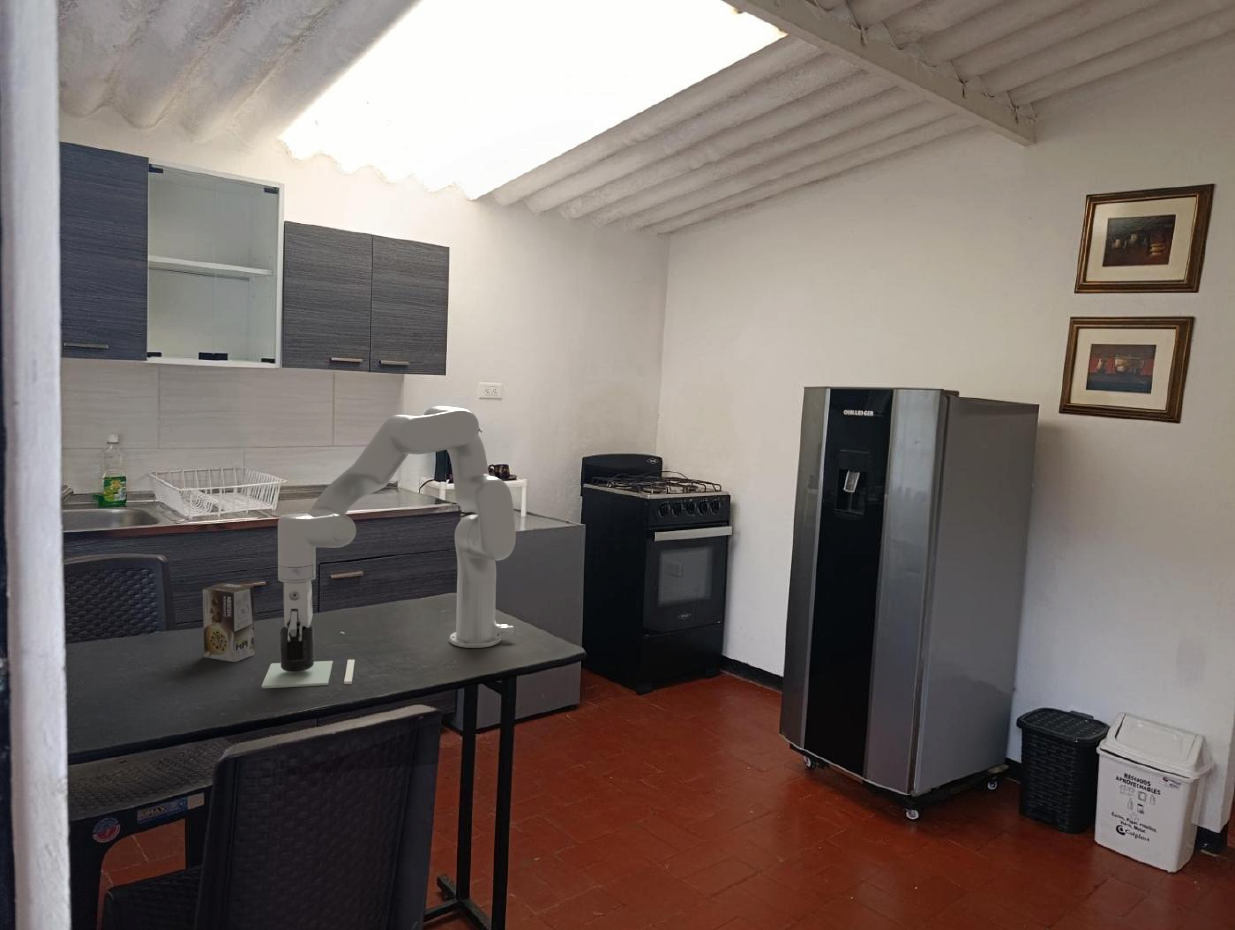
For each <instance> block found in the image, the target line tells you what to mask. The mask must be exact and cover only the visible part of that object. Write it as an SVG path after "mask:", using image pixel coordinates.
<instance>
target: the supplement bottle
mask: <svg viewBox="0 0 1235 930" xmlns="http://www.w3.org/2000/svg"><path fill="white" fill-rule="evenodd" d="M287 623H289V622H287ZM297 626H300V624H297ZM297 631H298V632H299V629H298V630H297ZM314 634H315V631H314V626H313V625H312V624H311V623H310V625H309V626H308V627H307V628H306V626H303V628H302V640H303V659H293V660H288V659H287V641H288V628H286V627H285V624H283V626H282V627H281V628H280V630H279V654H280V662H279V663H281V668H282V669H283V670H285V671H289V672H297V671H304V670H307V669H310V668H311V667H312V666H313V665H314V662H315V635H314Z"/></svg>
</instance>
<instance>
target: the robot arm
mask: <svg viewBox="0 0 1235 930" xmlns="http://www.w3.org/2000/svg"><path fill="white" fill-rule="evenodd" d="M479 424H480V423H479V420H478V418H477V416H476V415H475V414H474V412H472V411H471V410H469V409H466V408H462V407H454V406H448V405H447V406H446V405H434V406H433V407H429V408H428V409H427V410H426V411H425V412H424V413H423V415H418V416H417V415H415V416H414V415H409V414H407V415H406V414H396V415H395V414H394V415H392V416H389V417H388V418H387V419H386V420H385V421H384V422H383V424H381V426H380V428H379V429H378V431H377V432H376V433H375V434H374V436H373V437H372V438H371V440H370V441H369V443H368V444H367V446H366V447H365V448H364V449H363V451H362V452H361V454H360V455H359V457H358V458H357V459H356V461H355V462H354V463H353V464H352V465H351V466H350V467H349V468H348V469H346V470H345V471H343V472H342V473H341V474H340V475H338V477H337V478H336V479H334V480H332V482H331V483H330V484H329V485H328V486H327V487H326V488H325V489H324V490H323V491H322V492H321V494H320V495H319V497H318V498H317V499H316V501H315V502H313V505H312V506H311V507H310V509H309V510H308V512H307V513H289V514H284V515H282V516H280V517H279V518H278V521H277V580H278V581H279V582H281V583H283V616H284V617H283V618H284V620H283V621H284V625H285V627H286V628H288V641H287V659H288V660H293V659H303V640H302V628H303V626H306V628H307V627H308V626H309V625H310V624H311V623H312V619H313V617H314V616H313V614H314V613H313V591H312V590H313V588H312V587H313V586H312V581H314V580H315V579H317V578H316V577H317V573H316V572H317V571H316V567H317V566H316V565H317V562H316V561H317V560H316V559H317V556H316V555H317V553H316V549H317V548H329V549H330V548H331V549H332V548H334V549H335V548H343V547H344V546H347V545H349V544H350V543H351V542H353V540H354V539H355V537H356V534H357V528H356V527H357V526H356V523H355V521H354V520H353V519H352V518H351V517H349V516H348V515H347V513H348V511H349V510H350V509H351V508H352V506H354V505H355V504H356V503H357V502H358V501H360V500H361V499H363V498H364V497H366V496H368V495H370V494H373V493H376V492H378V491H380V490H381V489H383V488H385V487H386V486H387V485H388V484H389V483H390V481H391V479H393V477H394V476H395V474H396V472H397V471H398V470H399V468H400V467H401V465H403V462H404V461H405V460H406V458H407V457H408V455H424V454H433V453H437V452H441V451H445V450H446V451H447V453H448V455H449V459H450V464H451V471H452V480H453V481H452V482H453V488H454V496H455V501H456V502H457V505H458V506H459V507H460V508H461V509H463V510H465V511H467V512H471V513H475V514H470V515H467V516H465V517H463V518H462V519H461V520H460V521H459V522H458V524H457V525H456V527H455V530H454V544H455V545H454V546H455V553H456V560H457V562H456V563H457V566H456V567H457V581H456V582H457V583H456V621H455V622H456V623H455V625H456V627H455V632H453V633H451V634H450V635H449V642H450V644H452V645H454V646H457V647H460V648H467V649H469V648H470V649H482V648H489V647H492V646H495V645H497V644H499V643H500V642H501V641H502V639H501V638H502V637H501V635H502V634H506V635H511V634H514V632H515V630H514V629H515V628H514V625H508V624H503V623H502V624H499V623H497V621H496V592H497V588H496V587H497V565H496V562H497V561H503V560H505V559H508V557H509V556H510V555H511V554H512V552H513V551H514V548H515V545H516V538H517V534H516V533H517V532H516V523H515V513H514V512H515V511H514V503H513V497H512V496H513V495H512V493H511V490H510V488H509V486H508V485H507V483H506V482H505V481H504V480H503V479H500V478H498V477H497V476H494V475H490V472H489V467H488V462H487V455H486V450H485V446H484V443H483V440H482V439H481V437H480V435H479V433H478V432H479V430H480V429H479V428H480V425H479ZM287 622H289V623H287ZM297 624H300V626H297ZM298 629H299V632H298V631H297V630H298Z"/></svg>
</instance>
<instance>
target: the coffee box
mask: <svg viewBox="0 0 1235 930" xmlns="http://www.w3.org/2000/svg"><path fill="white" fill-rule="evenodd" d="M254 590H255V586H252V585H244V584H236V583H227V582H221V583H217V584H213V585H211V586H209V587H205V588H202V608H203V609H202V614H203V653H204V655H203V656H204V658H206V659H207V658H208V659H213V660H214V659H215V660H219V661H225V662H231V663H237V662H239V661H242V660H245V659H246V658H250V657H253V656H254V655H255V607H254V606H255V601H254V600H255V599H254V598H255V596H254V595H255V593H254V592H255V591H254Z"/></svg>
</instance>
